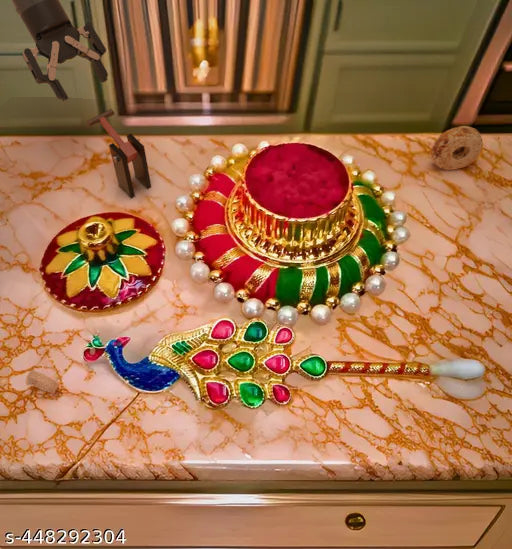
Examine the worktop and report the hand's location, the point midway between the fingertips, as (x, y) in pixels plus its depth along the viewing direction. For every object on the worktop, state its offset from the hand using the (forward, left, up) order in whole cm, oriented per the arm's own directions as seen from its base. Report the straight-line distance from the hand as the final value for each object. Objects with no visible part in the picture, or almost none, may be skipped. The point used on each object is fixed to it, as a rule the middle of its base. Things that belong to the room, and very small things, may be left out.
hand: (85, 90), depth 109 cm
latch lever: (+7, -3, -7) cm, 11 cm away
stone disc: (+67, +34, -18) cm, 77 cm away
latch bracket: (+11, -5, -18) cm, 22 cm away
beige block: (+22, -48, -18) cm, 56 cm away
